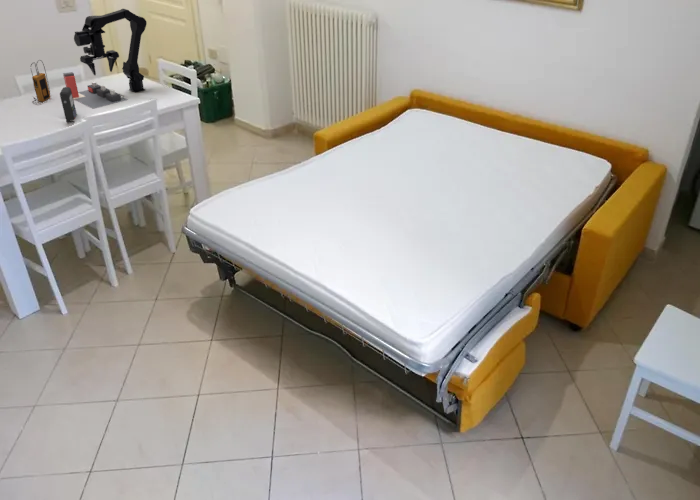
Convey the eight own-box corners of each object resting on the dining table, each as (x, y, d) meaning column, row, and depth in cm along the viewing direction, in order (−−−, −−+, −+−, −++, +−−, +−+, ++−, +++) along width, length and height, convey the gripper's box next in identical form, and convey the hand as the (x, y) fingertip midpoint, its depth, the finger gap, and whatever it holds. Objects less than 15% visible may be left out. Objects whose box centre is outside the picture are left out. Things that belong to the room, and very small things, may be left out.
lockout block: (77, 94, 311) (72, 71, 305) (79, 96, 308) (74, 73, 302) (68, 95, 309) (62, 72, 302) (70, 98, 306) (64, 75, 299)
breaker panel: (100, 89, 324) (98, 78, 320) (129, 102, 309) (126, 90, 306) (61, 99, 309) (58, 87, 306) (89, 112, 295) (86, 100, 291)
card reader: (75, 123, 283) (67, 92, 275) (66, 123, 282) (58, 93, 274) (78, 116, 290) (71, 86, 282) (69, 116, 290) (62, 86, 281)
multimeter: (37, 93, 315) (27, 56, 304) (54, 95, 314) (45, 57, 303) (21, 103, 303) (10, 64, 292) (39, 104, 302) (28, 65, 291)
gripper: (105, 36, 308) (110, 66, 317) (71, 42, 296) (78, 73, 305) (116, 41, 303) (122, 71, 311) (82, 47, 291) (89, 78, 299)
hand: (103, 73), depth 307 cm, fingers open, 9 cm apart
